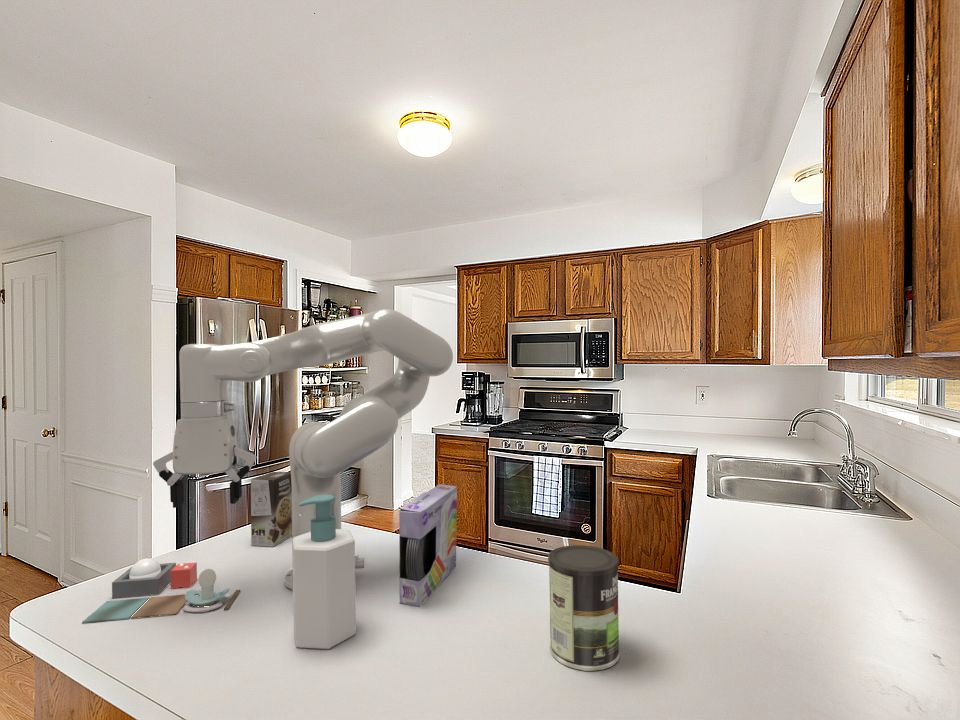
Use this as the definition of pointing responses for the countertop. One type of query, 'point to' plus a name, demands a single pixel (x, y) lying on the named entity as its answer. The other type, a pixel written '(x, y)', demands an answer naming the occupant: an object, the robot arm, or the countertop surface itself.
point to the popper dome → (145, 569)
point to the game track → (143, 608)
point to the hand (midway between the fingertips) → (206, 503)
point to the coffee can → (584, 607)
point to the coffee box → (271, 509)
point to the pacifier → (204, 594)
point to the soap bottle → (323, 581)
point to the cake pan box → (427, 543)
